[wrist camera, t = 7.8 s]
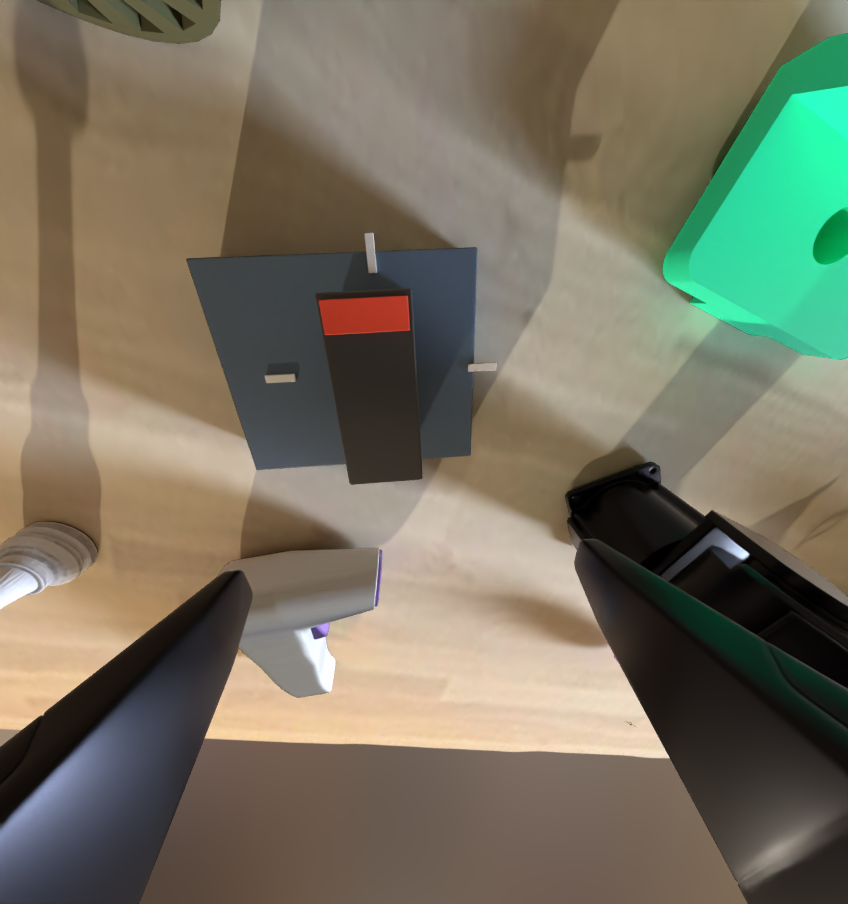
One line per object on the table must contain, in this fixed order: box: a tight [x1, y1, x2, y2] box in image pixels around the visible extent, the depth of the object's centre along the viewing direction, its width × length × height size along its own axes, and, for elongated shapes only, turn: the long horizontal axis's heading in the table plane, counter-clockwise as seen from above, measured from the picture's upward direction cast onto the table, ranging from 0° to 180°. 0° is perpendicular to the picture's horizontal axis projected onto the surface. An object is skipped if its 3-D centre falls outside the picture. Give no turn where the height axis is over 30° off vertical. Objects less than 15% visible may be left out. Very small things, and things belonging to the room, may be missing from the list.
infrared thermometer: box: [217, 548, 382, 698], centre depth 24 cm, size 5×12×15 cm
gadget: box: [315, 288, 423, 485], centre depth 13 cm, size 7×3×5 cm, turn 3°
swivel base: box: [186, 233, 497, 470], centre depth 16 cm, size 13×11×3 cm
